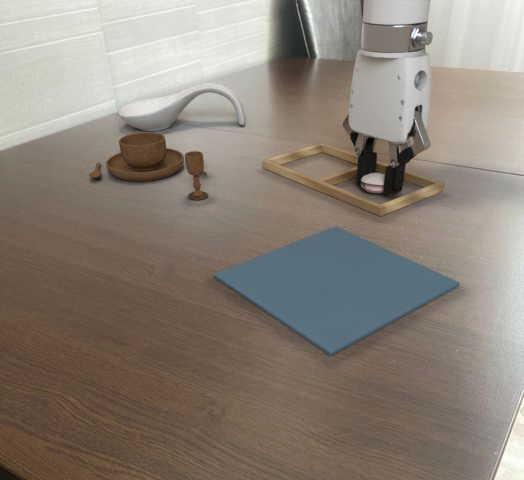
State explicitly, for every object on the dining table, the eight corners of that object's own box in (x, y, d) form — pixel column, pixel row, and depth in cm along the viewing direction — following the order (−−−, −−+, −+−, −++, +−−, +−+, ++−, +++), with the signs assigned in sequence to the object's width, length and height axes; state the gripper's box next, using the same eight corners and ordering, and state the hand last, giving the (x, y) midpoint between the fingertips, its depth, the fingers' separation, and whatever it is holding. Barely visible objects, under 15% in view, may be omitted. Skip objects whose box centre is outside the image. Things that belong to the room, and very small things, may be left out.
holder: (322, 150, 92) (322, 142, 91) (443, 191, 76) (444, 182, 75) (262, 168, 86) (262, 160, 85) (380, 216, 70) (381, 207, 69)
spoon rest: (115, 137, 101) (107, 95, 97) (127, 119, 110) (120, 80, 106) (244, 132, 101) (242, 90, 97) (245, 115, 110) (243, 75, 106)
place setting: (201, 153, 92) (197, 116, 89) (213, 199, 76) (209, 156, 73) (93, 162, 90) (85, 125, 86) (83, 211, 74) (73, 167, 71)
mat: (335, 228, 68) (335, 225, 67) (459, 285, 56) (459, 282, 56) (214, 277, 59) (213, 273, 59) (330, 356, 48) (330, 352, 47)
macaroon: (356, 194, 76) (357, 176, 75) (367, 181, 80) (368, 164, 78) (387, 198, 75) (389, 180, 73) (396, 185, 78) (398, 168, 77)
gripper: (473, 42, 62) (445, 198, 73) (363, 28, 73) (354, 166, 84) (430, 51, 59) (408, 214, 70) (321, 36, 69) (317, 179, 80)
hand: (378, 186), depth 77 cm, fingers closed on macaroon, 4 cm apart
